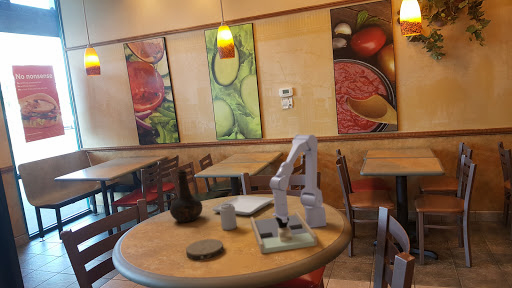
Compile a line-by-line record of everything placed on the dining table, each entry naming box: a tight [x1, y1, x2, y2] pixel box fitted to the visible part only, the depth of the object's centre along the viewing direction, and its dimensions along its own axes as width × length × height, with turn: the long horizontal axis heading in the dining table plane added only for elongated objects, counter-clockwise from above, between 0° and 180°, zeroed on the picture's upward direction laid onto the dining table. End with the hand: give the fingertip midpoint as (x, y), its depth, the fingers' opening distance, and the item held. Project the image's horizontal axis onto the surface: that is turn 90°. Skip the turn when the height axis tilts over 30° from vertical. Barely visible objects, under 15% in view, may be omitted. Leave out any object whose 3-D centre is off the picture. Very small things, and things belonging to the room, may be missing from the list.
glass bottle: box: [169, 169, 203, 223], centre depth 211 cm, size 18×18×28 cm
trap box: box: [249, 210, 318, 254], centre depth 177 cm, size 24×36×4 cm, turn 7°
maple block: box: [278, 227, 292, 241], centre depth 167 cm, size 5×5×4 cm
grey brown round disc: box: [185, 238, 225, 261], centre depth 166 cm, size 16×16×3 cm
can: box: [219, 204, 238, 231], centre depth 192 cm, size 8×8×12 cm
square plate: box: [211, 195, 274, 216], centre depth 223 cm, size 27×27×4 cm
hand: (283, 233), depth 171 cm, fingers closed
